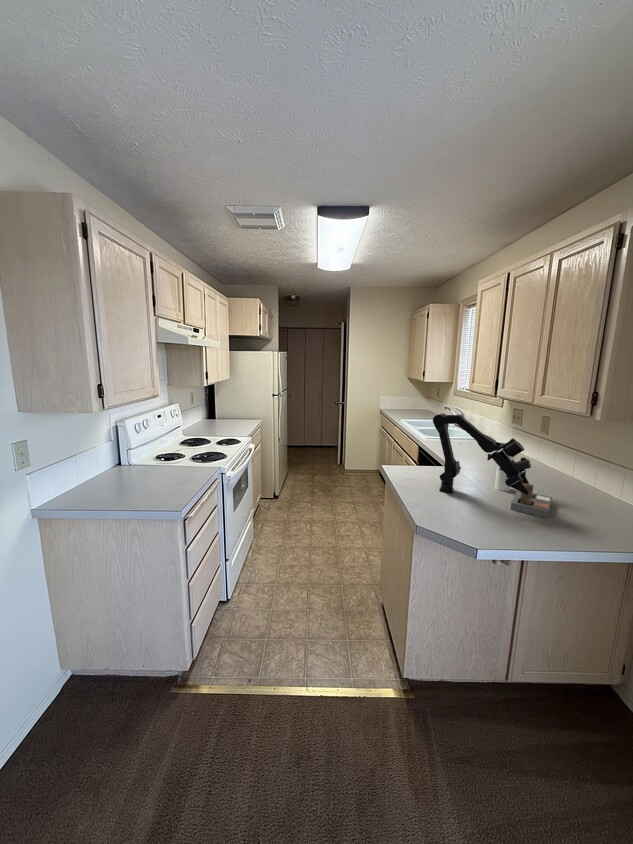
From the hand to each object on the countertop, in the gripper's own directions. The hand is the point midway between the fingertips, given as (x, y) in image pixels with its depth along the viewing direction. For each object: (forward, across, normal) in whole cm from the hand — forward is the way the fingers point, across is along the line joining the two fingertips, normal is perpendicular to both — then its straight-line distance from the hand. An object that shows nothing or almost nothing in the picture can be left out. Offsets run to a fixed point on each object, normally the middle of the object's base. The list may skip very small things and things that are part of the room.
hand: (529, 491), depth 154 cm
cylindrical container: (-3, +21, +15) cm, 26 cm away
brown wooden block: (+5, 0, +6) cm, 8 cm away
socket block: (+7, +5, +5) cm, 10 cm away
